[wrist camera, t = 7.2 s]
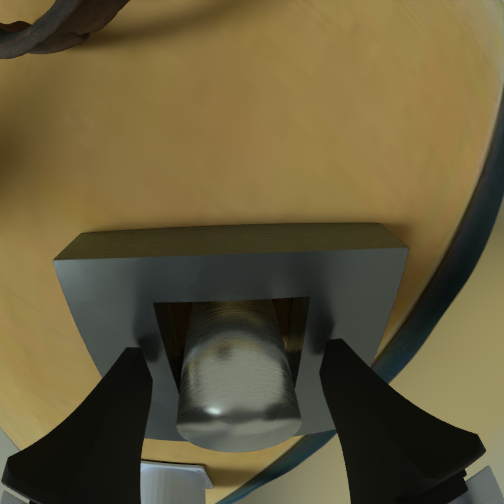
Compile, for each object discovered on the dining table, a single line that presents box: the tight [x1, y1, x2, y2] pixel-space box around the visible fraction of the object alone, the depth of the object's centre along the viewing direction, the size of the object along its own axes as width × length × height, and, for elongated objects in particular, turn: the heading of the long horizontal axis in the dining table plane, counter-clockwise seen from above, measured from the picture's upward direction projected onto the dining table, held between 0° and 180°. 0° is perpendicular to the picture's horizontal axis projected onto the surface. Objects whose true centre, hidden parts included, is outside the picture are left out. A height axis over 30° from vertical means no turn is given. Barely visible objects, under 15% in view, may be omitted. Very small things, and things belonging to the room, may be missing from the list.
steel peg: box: [176, 299, 302, 452], centre depth 10 cm, size 4×4×6 cm
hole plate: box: [53, 223, 409, 442], centre depth 12 cm, size 13×13×3 cm
